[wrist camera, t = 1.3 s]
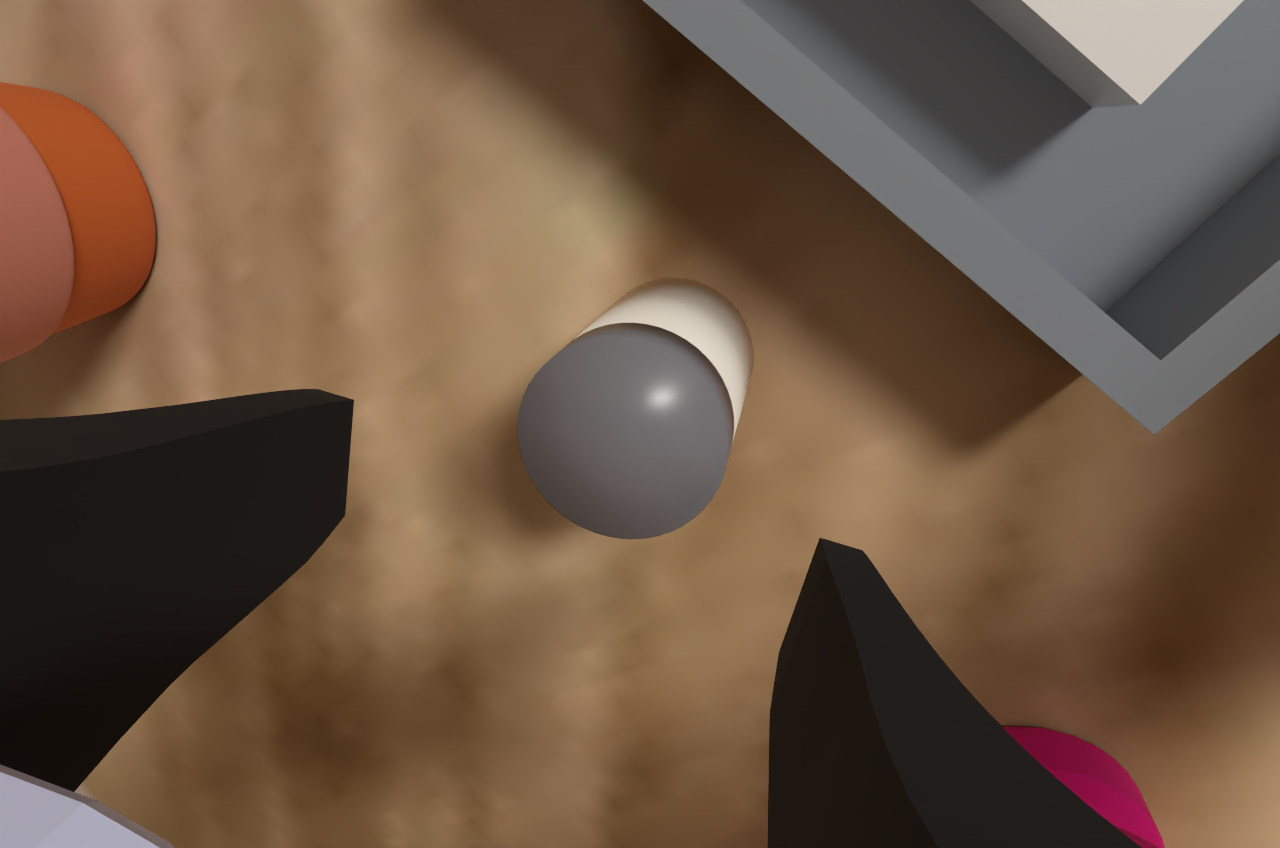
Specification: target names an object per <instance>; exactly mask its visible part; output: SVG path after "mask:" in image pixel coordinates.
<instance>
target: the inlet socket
mask: <svg viewBox="0 0 1280 848" xmlns="http://www.w3.org/2000/svg"><path fill="white" fill-rule="evenodd" d="M970 1H971V2H972V3H973V4H975V5H976V6H977V7H978V8H979V9H980V10H981V11H983V12H984V13H985V14H986V15H987V16H988V17H989V18H991V19H992V20H993V21H994V22H995V23H996V24H997V25H999V26H1000V27H1001V28H1002V29H1003V30H1004V31H1005V32H1007V33H1008V34H1009V35H1010V36H1011V37H1012V38H1013V39H1015V40H1016V41H1017V42H1018V43H1019V44H1020V45H1021V46H1023V47H1024V48H1025V49H1026V50H1027V51H1028V52H1029V53H1030V54H1032V55H1033V56H1034V57H1035V58H1036V59H1037V60H1038V61H1040V62H1041V63H1042V64H1043V65H1044V66H1045V67H1046V68H1048V69H1049V70H1050V71H1051V72H1052V73H1053V74H1054V75H1056V76H1057V77H1058V78H1059V79H1060V80H1061V81H1062V82H1064V83H1065V84H1066V85H1067V86H1068V87H1069V88H1070V89H1072V90H1073V91H1074V92H1075V93H1076V94H1077V95H1078V96H1080V97H1081V98H1082V99H1083V100H1084V101H1085V102H1086V103H1087V104H1089V105H1090V106H1091V107H1092V108H1099V107H1115V106H1130V105H1141V104H1142V103H1143V102H1144V101H1145V100H1146V99H1147V98H1148V97H1149V96H1150V95H1151V94H1152V93H1153V92H1154V91H1155V90H1156V89H1157V88H1158V87H1159V86H1160V85H1161V84H1162V83H1163V82H1164V81H1165V80H1166V79H1167V78H1168V77H1169V76H1170V75H1171V74H1172V73H1173V72H1174V70H1175V69H1176V68H1177V67H1178V66H1179V65H1180V64H1181V63H1182V62H1183V61H1184V60H1185V59H1186V58H1187V57H1188V56H1189V55H1190V54H1191V53H1192V52H1193V51H1194V50H1195V49H1196V48H1197V47H1198V46H1199V45H1200V44H1201V43H1202V42H1203V41H1204V40H1205V39H1206V38H1207V37H1208V36H1209V35H1210V34H1211V33H1212V32H1213V31H1214V30H1215V29H1216V28H1217V27H1218V26H1219V25H1220V24H1221V23H1222V22H1223V21H1224V20H1225V19H1226V18H1227V17H1228V16H1229V15H1230V14H1231V13H1232V12H1233V11H1234V10H1235V9H1236V8H1237V7H1238V6H1239V5H1240V4H1241V3H1242V2H1243V1H1244V0H970Z"/></svg>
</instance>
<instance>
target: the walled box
mask: <svg viewBox="0 0 1280 848" xmlns="http://www.w3.org/2000/svg"><path fill="white" fill-rule="evenodd" d="M643 1H644V2H645V3H646V4H647V5H649V6H650V7H651V8H652V9H653V10H654V11H656V12H657V13H658V14H659V15H660V16H662V17H663V18H664V19H665V20H666V21H667V22H669V23H670V24H671V25H672V26H673V27H674V28H676V29H677V30H678V31H679V32H680V33H682V34H683V35H684V36H685V37H686V38H687V39H689V40H690V41H691V42H692V43H693V44H694V45H696V46H697V47H698V48H699V49H700V50H702V51H703V52H704V53H705V54H706V55H707V56H709V57H710V58H711V59H712V60H713V61H714V62H716V63H717V64H718V65H719V66H720V67H722V68H723V69H724V70H725V71H726V72H727V73H729V74H730V75H731V76H732V77H733V78H735V79H736V80H737V81H738V82H739V83H740V84H742V85H743V86H744V87H745V88H746V89H747V90H749V91H750V92H751V93H752V94H753V95H755V96H756V97H757V98H758V99H759V100H760V101H762V102H763V103H764V104H765V105H766V106H767V107H769V108H770V109H771V110H772V111H773V112H775V113H776V114H777V115H778V116H779V117H780V118H782V119H783V120H784V121H785V122H786V123H787V124H789V125H790V126H791V127H792V128H793V129H795V130H796V131H797V132H798V133H799V134H800V135H802V136H803V137H804V138H805V139H806V140H808V141H809V142H810V143H811V144H812V145H813V146H815V147H816V148H817V149H818V150H819V151H820V152H822V153H823V154H824V155H825V156H826V157H828V158H829V159H830V160H831V161H832V162H833V163H835V164H836V165H837V166H838V167H839V168H840V169H842V170H843V171H844V172H845V173H846V174H848V175H849V176H850V177H851V178H852V179H853V180H855V181H856V182H857V183H858V184H859V185H860V186H862V187H863V188H864V189H865V190H866V191H868V192H869V193H870V194H871V195H872V196H873V197H875V198H876V199H877V200H878V201H879V202H881V203H882V204H883V205H884V206H885V207H886V208H888V209H889V210H890V211H891V212H892V213H893V214H895V215H896V216H897V217H898V218H899V219H901V220H902V221H903V222H904V223H905V224H906V225H908V226H909V227H910V228H911V229H912V230H913V231H915V232H916V233H917V234H918V235H919V236H921V237H922V238H923V239H924V240H925V241H926V242H928V243H929V244H930V245H931V246H932V247H933V248H935V249H936V250H937V251H938V252H939V253H941V254H942V255H943V256H944V257H945V258H946V259H948V260H949V261H950V262H951V263H952V264H954V265H955V266H956V267H957V268H958V269H959V270H961V271H962V272H963V273H964V274H965V275H966V276H968V277H969V278H970V279H971V280H972V281H974V282H975V283H976V284H977V285H978V286H979V287H981V288H982V289H983V290H984V291H985V292H986V293H988V294H989V295H990V296H991V297H992V298H994V299H995V300H996V301H997V302H998V303H999V304H1001V305H1002V306H1003V307H1004V308H1005V309H1006V310H1008V311H1009V312H1010V313H1011V314H1012V315H1014V316H1015V317H1016V318H1017V319H1018V320H1019V321H1021V322H1022V323H1023V324H1024V325H1025V326H1027V327H1028V328H1029V329H1030V330H1031V331H1032V332H1034V333H1035V334H1036V335H1037V336H1038V337H1039V338H1041V339H1042V340H1043V341H1044V342H1045V343H1047V344H1048V345H1049V346H1050V347H1051V348H1052V349H1054V350H1055V351H1056V352H1057V353H1058V354H1059V355H1061V356H1062V357H1063V358H1064V359H1065V360H1067V361H1068V362H1069V363H1070V364H1071V365H1072V366H1074V367H1075V368H1076V369H1077V370H1078V371H1079V372H1081V373H1082V374H1083V375H1084V376H1085V377H1087V378H1088V379H1089V380H1090V381H1091V382H1092V383H1094V384H1095V385H1096V386H1097V387H1098V388H1100V389H1101V390H1102V391H1103V392H1104V393H1105V394H1107V395H1108V396H1109V397H1110V398H1111V399H1112V400H1114V401H1115V402H1116V403H1117V404H1118V405H1120V406H1121V407H1122V408H1123V409H1124V410H1125V411H1127V412H1128V413H1129V414H1130V415H1131V416H1132V417H1134V418H1135V419H1136V420H1137V421H1138V422H1140V423H1141V424H1142V425H1143V426H1144V427H1145V428H1147V429H1148V430H1149V431H1150V432H1151V433H1152V434H1154V435H1155V434H1156V433H1157V432H1158V431H1160V430H1161V429H1162V428H1163V427H1164V426H1166V425H1167V424H1168V423H1169V422H1171V421H1172V420H1173V419H1174V418H1176V417H1177V416H1178V415H1179V414H1181V413H1182V412H1183V411H1184V410H1185V409H1187V408H1188V407H1189V406H1190V405H1192V404H1193V403H1194V402H1195V401H1197V400H1198V399H1199V398H1200V397H1202V396H1203V395H1204V394H1205V393H1207V392H1208V391H1209V390H1210V389H1211V388H1213V387H1214V386H1215V385H1216V384H1218V383H1219V382H1220V381H1221V380H1223V379H1224V378H1225V377H1226V376H1228V375H1229V374H1230V373H1231V372H1232V371H1234V370H1235V369H1236V368H1237V367H1239V366H1240V365H1241V364H1242V363H1244V362H1245V361H1246V360H1247V359H1249V358H1250V357H1251V356H1252V355H1253V354H1255V353H1256V352H1257V351H1258V350H1260V349H1261V348H1262V347H1263V346H1265V345H1266V344H1267V343H1268V342H1270V341H1271V340H1272V339H1273V338H1275V337H1276V336H1277V335H1278V334H1279V333H1280V0H1244V1H1243V2H1242V3H1241V4H1240V5H1239V6H1238V7H1237V8H1236V9H1235V10H1234V11H1233V12H1232V13H1231V14H1230V15H1229V16H1228V17H1227V18H1226V19H1225V20H1224V21H1223V22H1222V23H1221V24H1220V25H1219V26H1218V27H1217V28H1216V29H1215V30H1214V31H1213V32H1212V33H1211V34H1210V35H1209V36H1208V37H1207V38H1206V39H1205V40H1204V41H1203V42H1202V43H1201V44H1200V45H1199V46H1198V47H1197V48H1196V49H1195V50H1194V51H1193V52H1192V53H1191V54H1190V55H1189V56H1188V57H1187V58H1186V59H1185V60H1184V61H1183V62H1182V63H1181V64H1180V65H1179V66H1178V67H1177V68H1176V69H1175V70H1174V72H1173V73H1172V74H1171V75H1170V76H1169V77H1168V78H1167V79H1166V80H1165V81H1164V82H1163V83H1162V84H1161V85H1160V86H1159V87H1158V88H1157V89H1156V90H1155V91H1154V92H1153V93H1152V94H1151V95H1150V96H1149V97H1148V98H1147V99H1146V100H1145V101H1144V102H1143V103H1142V104H1141V105H1130V106H1115V107H1099V108H1092V107H1091V106H1090V105H1089V104H1087V103H1086V102H1085V101H1084V100H1083V99H1082V98H1081V97H1080V96H1078V95H1077V94H1076V93H1075V92H1074V91H1073V90H1072V89H1070V88H1069V87H1068V86H1067V85H1066V84H1065V83H1064V82H1062V81H1061V80H1060V79H1059V78H1058V77H1057V76H1056V75H1054V74H1053V73H1052V72H1051V71H1050V70H1049V69H1048V68H1046V67H1045V66H1044V65H1043V64H1042V63H1041V62H1040V61H1038V60H1037V59H1036V58H1035V57H1034V56H1033V55H1032V54H1030V53H1029V52H1028V51H1027V50H1026V49H1025V48H1024V47H1023V46H1021V45H1020V44H1019V43H1018V42H1017V41H1016V40H1015V39H1013V38H1012V37H1011V36H1010V35H1009V34H1008V33H1007V32H1005V31H1004V30H1003V29H1002V28H1001V27H1000V26H999V25H997V24H996V23H995V22H994V21H993V20H992V19H991V18H989V17H988V16H987V15H986V14H985V13H984V12H983V11H981V10H980V9H979V8H978V7H977V6H976V5H975V4H973V3H972V2H971V1H970V0H643Z"/></svg>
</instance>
